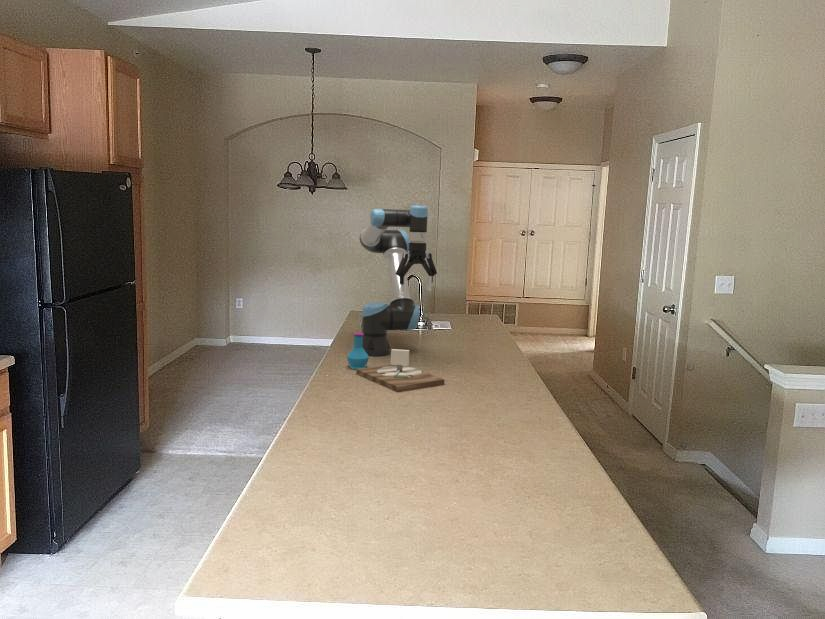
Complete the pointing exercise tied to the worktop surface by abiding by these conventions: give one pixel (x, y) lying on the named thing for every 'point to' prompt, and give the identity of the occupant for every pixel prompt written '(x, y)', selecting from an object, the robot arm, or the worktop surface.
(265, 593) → the worktop surface
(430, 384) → the tuner board
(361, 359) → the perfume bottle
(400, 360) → the beige block with bar
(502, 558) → the worktop surface
